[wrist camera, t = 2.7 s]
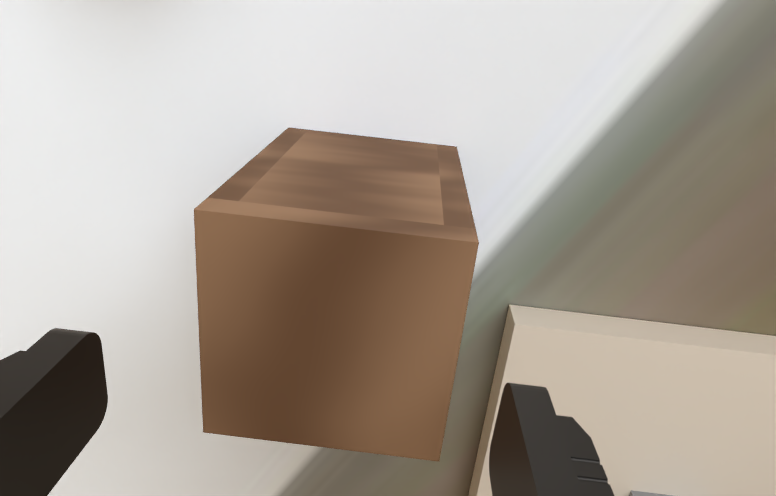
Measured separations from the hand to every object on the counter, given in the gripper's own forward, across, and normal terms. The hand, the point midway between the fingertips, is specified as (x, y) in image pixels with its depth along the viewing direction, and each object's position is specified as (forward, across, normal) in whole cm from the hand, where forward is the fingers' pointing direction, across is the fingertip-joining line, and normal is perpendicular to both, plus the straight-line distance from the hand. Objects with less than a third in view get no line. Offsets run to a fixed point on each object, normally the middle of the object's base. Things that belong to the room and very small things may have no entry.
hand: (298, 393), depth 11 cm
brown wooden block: (+11, 0, 0) cm, 11 cm away
